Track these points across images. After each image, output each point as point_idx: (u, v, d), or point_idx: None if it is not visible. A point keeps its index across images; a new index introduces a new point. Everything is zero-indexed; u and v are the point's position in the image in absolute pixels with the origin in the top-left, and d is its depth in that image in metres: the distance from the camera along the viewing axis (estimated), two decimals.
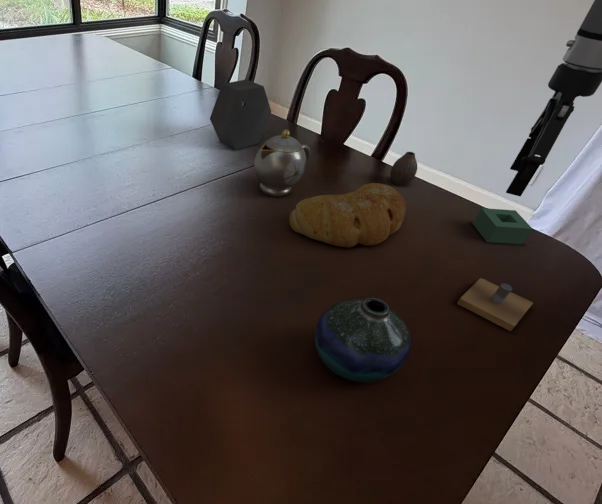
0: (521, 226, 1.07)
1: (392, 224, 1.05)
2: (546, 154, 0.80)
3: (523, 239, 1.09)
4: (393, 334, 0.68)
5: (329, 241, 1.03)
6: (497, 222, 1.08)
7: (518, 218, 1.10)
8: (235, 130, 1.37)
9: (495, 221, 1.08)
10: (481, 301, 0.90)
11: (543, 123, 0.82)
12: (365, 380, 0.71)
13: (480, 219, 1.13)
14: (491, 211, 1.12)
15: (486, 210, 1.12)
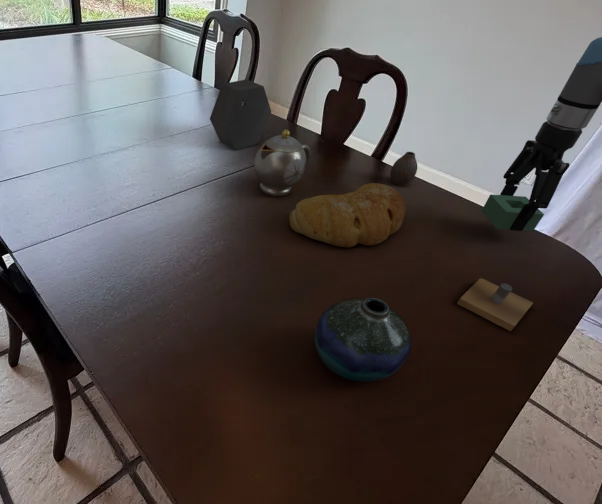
0: None
1: (392, 224, 1.05)
2: (549, 201, 0.98)
3: (534, 225, 1.06)
4: (393, 334, 0.68)
5: (329, 241, 1.03)
6: (507, 208, 1.05)
7: None
8: (235, 130, 1.37)
9: (505, 207, 1.06)
10: (481, 301, 0.90)
11: (538, 174, 0.98)
12: (365, 380, 0.71)
13: (489, 206, 1.10)
14: (501, 198, 1.09)
15: (496, 197, 1.09)
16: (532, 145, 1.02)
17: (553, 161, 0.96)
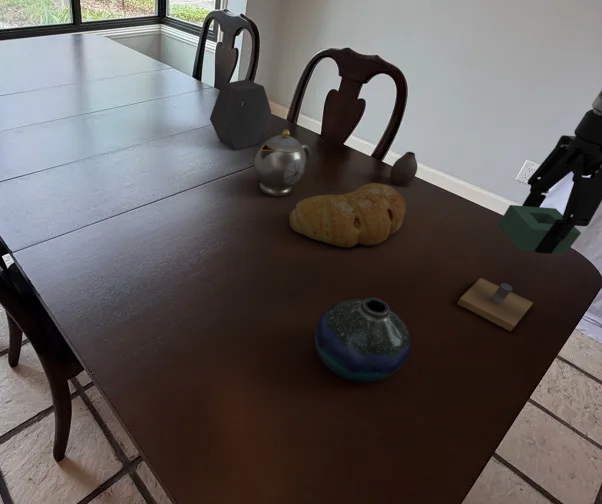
0: None
1: (392, 224, 1.05)
2: (590, 217, 0.74)
3: (567, 247, 0.82)
4: (393, 334, 0.68)
5: (329, 241, 1.03)
6: (533, 224, 0.81)
7: (560, 218, 0.83)
8: (235, 130, 1.37)
9: (530, 222, 0.81)
10: (481, 301, 0.90)
11: (578, 180, 0.74)
12: (365, 380, 0.71)
13: (508, 220, 0.86)
14: (524, 210, 0.84)
15: (517, 208, 0.85)
16: (568, 142, 0.78)
17: (599, 163, 0.71)
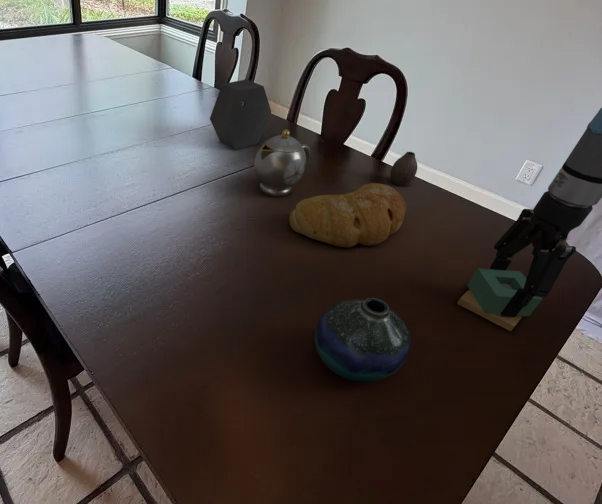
0: None
1: (392, 224, 1.05)
2: (549, 289, 0.79)
3: (530, 310, 0.87)
4: (393, 334, 0.68)
5: (329, 241, 1.03)
6: (498, 290, 0.86)
7: (524, 283, 0.88)
8: (235, 130, 1.37)
9: (495, 288, 0.86)
10: None
11: (537, 254, 0.79)
12: (365, 380, 0.71)
13: (476, 282, 0.91)
14: (490, 274, 0.90)
15: (484, 272, 0.90)
16: (529, 215, 0.83)
17: (555, 242, 0.76)
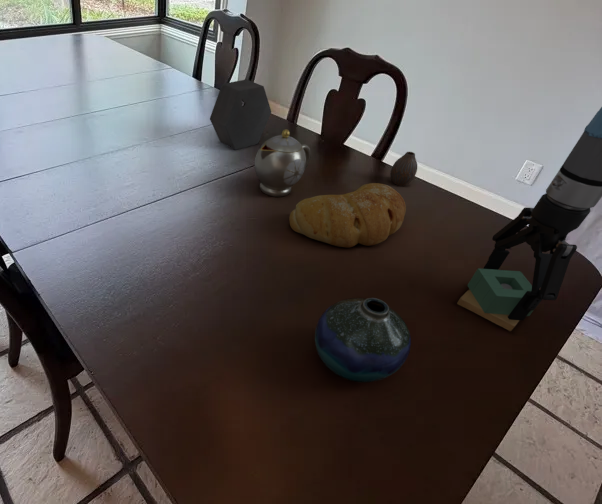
0: None
1: (392, 224, 1.05)
2: (557, 291, 0.77)
3: None
4: (393, 334, 0.68)
5: (329, 241, 1.03)
6: (498, 290, 0.86)
7: (524, 283, 0.88)
8: (235, 130, 1.37)
9: (495, 288, 0.86)
10: None
11: (539, 256, 0.78)
12: (365, 380, 0.71)
13: (476, 282, 0.91)
14: (490, 273, 0.90)
15: (484, 272, 0.90)
16: (529, 215, 0.83)
17: (555, 243, 0.76)
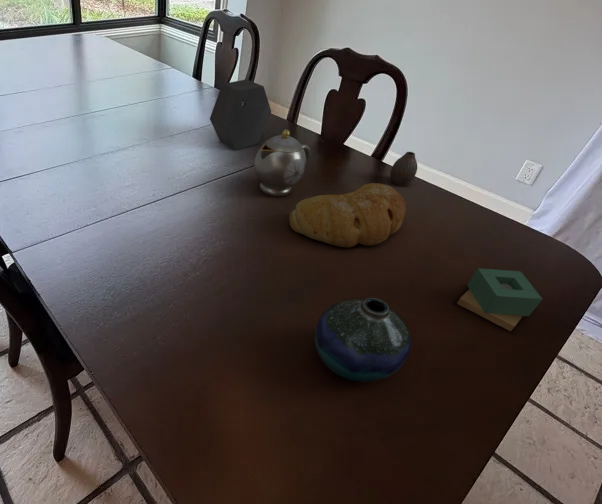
0: (527, 296, 0.85)
1: (392, 224, 1.05)
2: None
3: (530, 310, 0.87)
4: (393, 334, 0.68)
5: (329, 241, 1.03)
6: (498, 290, 0.86)
7: (524, 283, 0.88)
8: (235, 130, 1.37)
9: (495, 288, 0.86)
10: None
11: None
12: (365, 380, 0.71)
13: (476, 282, 0.91)
14: (490, 273, 0.90)
15: (484, 272, 0.90)
16: None
17: None
